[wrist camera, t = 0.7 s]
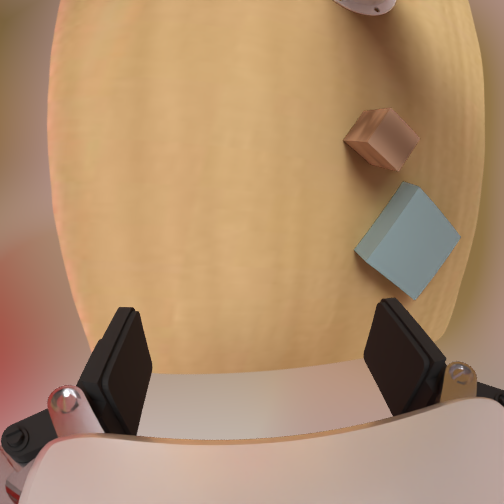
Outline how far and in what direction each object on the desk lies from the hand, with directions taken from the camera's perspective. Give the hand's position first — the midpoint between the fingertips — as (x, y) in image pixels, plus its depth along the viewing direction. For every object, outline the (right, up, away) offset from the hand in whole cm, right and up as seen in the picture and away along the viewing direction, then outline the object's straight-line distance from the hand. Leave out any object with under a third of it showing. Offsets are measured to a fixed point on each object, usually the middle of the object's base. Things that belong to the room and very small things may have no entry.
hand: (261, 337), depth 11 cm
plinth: (+22, +5, +28) cm, 36 cm away
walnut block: (+14, +18, +22) cm, 32 cm away
